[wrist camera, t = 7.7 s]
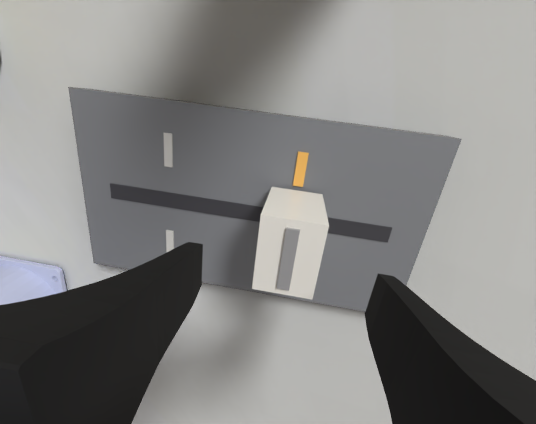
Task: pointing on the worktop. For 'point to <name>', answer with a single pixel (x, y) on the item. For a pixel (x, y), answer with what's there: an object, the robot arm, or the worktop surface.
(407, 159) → the fader console
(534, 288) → the worktop surface
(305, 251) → the fader cap
